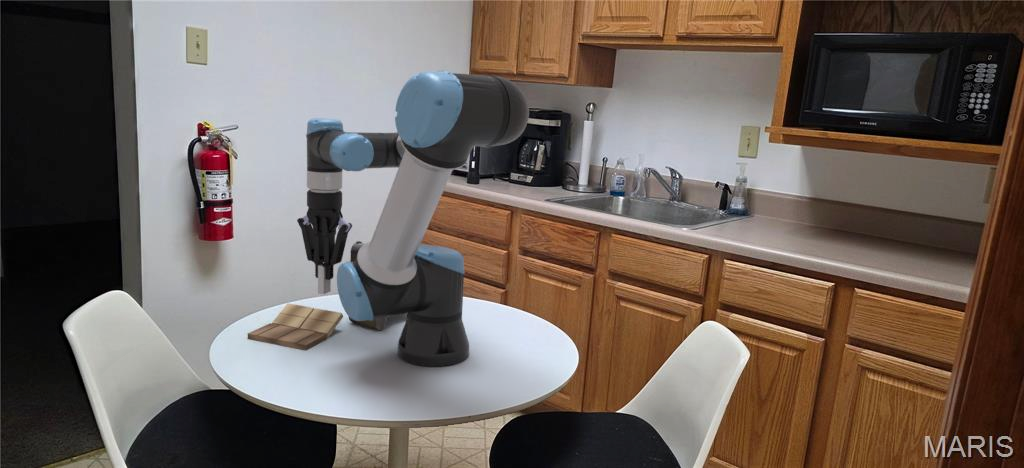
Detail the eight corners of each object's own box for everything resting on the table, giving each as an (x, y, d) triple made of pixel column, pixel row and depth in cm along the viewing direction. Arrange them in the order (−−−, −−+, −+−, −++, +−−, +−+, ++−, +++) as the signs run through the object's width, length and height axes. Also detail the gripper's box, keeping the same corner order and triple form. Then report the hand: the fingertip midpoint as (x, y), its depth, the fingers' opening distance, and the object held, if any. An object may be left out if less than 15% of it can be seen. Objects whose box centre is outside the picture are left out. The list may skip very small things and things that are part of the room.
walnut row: (326, 339, 148) (326, 333, 148) (305, 350, 141) (305, 344, 141) (270, 328, 153) (270, 322, 153) (247, 338, 146) (247, 332, 146)
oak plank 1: (315, 311, 156) (313, 307, 155) (299, 331, 151) (298, 327, 151) (289, 306, 158) (287, 303, 158) (273, 326, 154) (271, 322, 153)
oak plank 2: (343, 316, 154) (341, 312, 153) (328, 337, 149) (327, 333, 148) (316, 311, 156) (315, 307, 155) (301, 331, 151) (299, 327, 150)
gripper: (359, 190, 149) (358, 292, 154) (310, 184, 153) (310, 283, 158) (340, 195, 142) (339, 301, 147) (289, 188, 146) (289, 292, 151)
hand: (324, 292), depth 152 cm, fingers closed
